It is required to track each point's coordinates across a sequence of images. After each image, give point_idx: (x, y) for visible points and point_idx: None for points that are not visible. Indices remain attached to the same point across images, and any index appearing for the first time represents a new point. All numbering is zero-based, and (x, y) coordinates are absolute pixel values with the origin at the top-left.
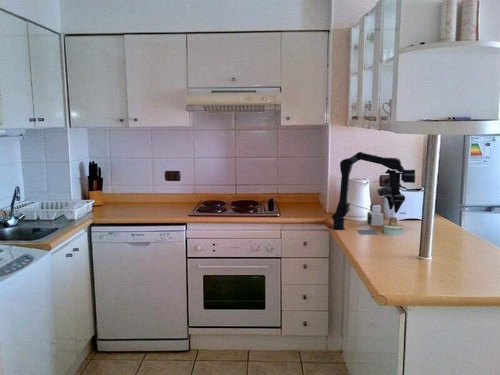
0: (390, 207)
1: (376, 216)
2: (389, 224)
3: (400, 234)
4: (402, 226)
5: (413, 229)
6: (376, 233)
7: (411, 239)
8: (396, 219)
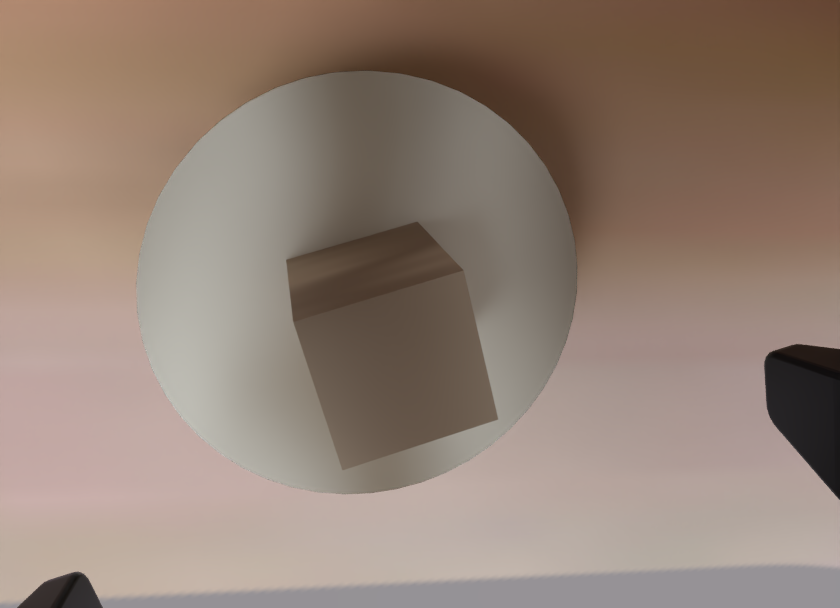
0: (822, 407)
1: None
2: (407, 227)
3: None
4: (313, 489)
5: (685, 543)
6: None
7: (33, 546)
8: (337, 447)
